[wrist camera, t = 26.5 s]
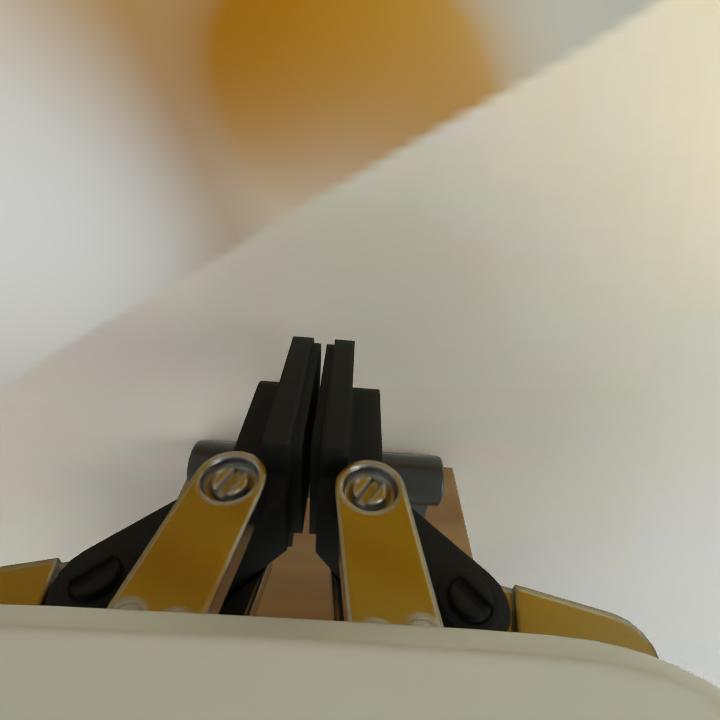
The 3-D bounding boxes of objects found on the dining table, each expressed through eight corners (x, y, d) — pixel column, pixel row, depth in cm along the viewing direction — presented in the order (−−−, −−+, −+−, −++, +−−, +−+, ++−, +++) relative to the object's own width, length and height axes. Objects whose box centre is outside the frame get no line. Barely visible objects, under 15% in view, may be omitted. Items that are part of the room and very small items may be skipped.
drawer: (179, 350, 15) (48, 525, 9) (481, 372, 15) (556, 557, 9) (230, 600, 25) (186, 761, 19) (409, 610, 26) (421, 771, 20)
